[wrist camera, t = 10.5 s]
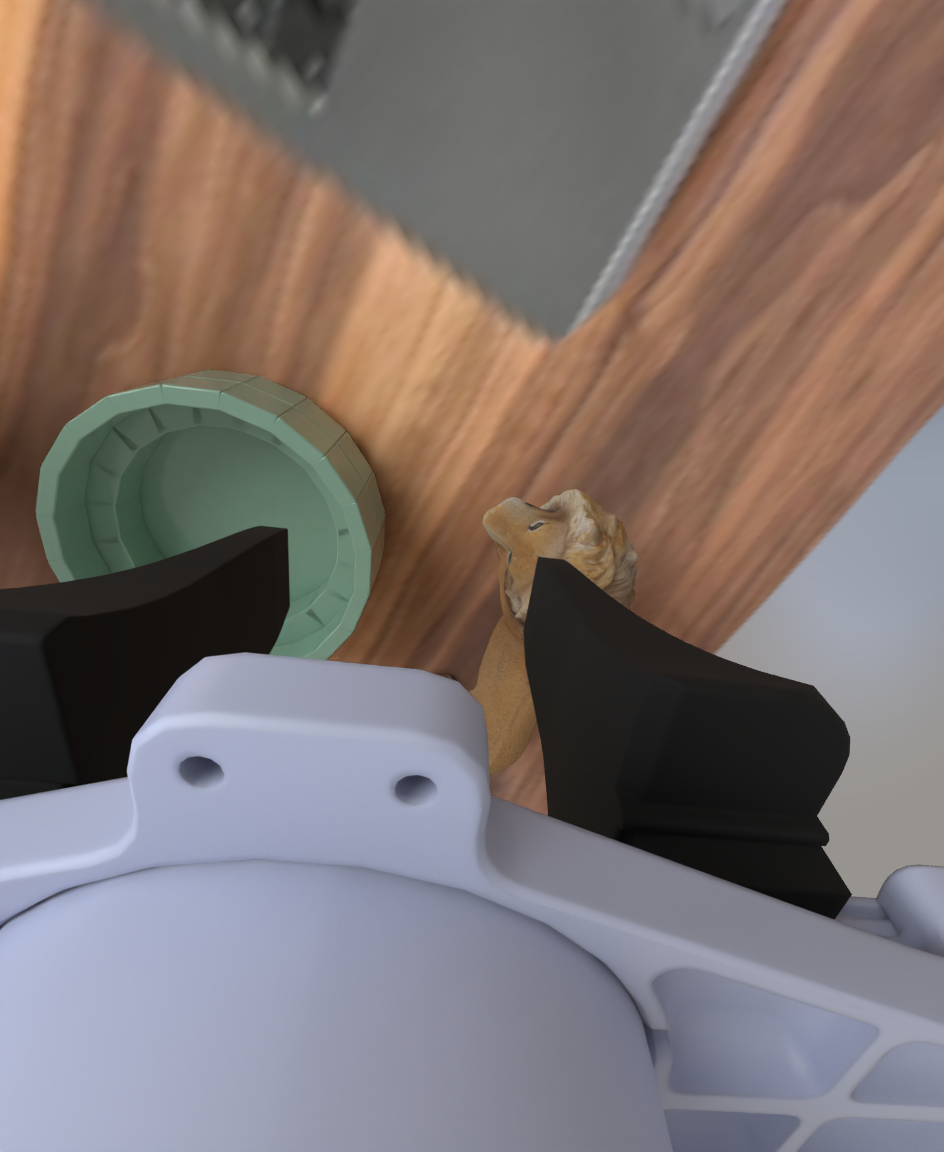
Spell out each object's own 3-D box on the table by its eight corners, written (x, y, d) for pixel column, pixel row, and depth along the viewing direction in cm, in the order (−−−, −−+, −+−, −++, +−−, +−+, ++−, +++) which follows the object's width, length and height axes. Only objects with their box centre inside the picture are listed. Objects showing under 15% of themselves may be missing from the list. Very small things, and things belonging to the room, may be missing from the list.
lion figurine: (487, 425, 21) (496, 508, 13) (620, 455, 22) (707, 552, 14) (419, 718, 28) (398, 892, 20) (523, 736, 28) (543, 912, 20)
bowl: (130, 617, 25) (74, 670, 22) (80, 350, 20) (-4, 363, 16) (380, 641, 26) (365, 698, 22) (394, 389, 21) (377, 410, 17)
